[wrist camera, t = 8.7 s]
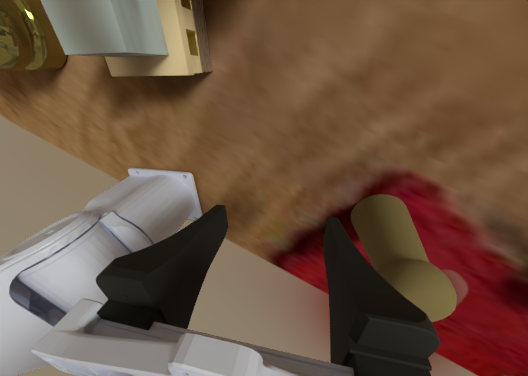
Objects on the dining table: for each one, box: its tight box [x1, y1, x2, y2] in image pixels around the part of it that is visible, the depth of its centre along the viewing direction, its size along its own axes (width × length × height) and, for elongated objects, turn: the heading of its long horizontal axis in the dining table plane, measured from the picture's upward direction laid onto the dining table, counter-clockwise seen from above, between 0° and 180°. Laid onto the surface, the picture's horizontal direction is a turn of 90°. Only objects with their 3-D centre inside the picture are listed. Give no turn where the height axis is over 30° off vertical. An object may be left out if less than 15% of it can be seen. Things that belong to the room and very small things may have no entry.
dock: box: [181, 0, 212, 72], centre depth 17 cm, size 7×6×2 cm
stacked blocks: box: [41, 0, 202, 77], centre depth 13 cm, size 7×7×6 cm
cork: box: [350, 194, 457, 322], centre depth 19 cm, size 6×6×11 cm
